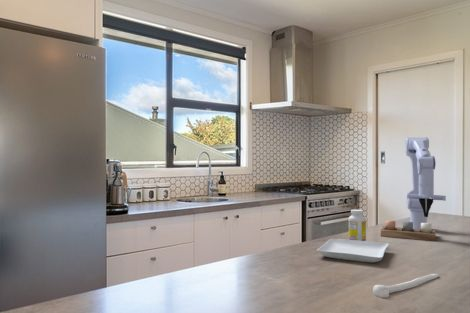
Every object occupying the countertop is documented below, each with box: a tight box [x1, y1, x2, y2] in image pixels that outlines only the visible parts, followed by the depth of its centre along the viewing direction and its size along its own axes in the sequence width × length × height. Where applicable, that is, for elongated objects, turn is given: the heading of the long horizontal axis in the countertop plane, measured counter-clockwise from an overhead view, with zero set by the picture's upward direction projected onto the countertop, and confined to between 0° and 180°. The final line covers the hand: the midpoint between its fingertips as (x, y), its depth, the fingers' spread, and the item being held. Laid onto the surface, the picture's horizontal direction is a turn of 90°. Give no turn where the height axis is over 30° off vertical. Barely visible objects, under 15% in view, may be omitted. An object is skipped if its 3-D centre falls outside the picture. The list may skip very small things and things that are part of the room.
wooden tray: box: [380, 225, 437, 242], centre depth 164 cm, size 11×21×2 cm, turn 64°
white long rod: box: [372, 273, 439, 298], centre depth 102 cm, size 28×4×3 cm, turn 125°
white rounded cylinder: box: [421, 222, 432, 233], centre depth 161 cm, size 4×4×4 cm
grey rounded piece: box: [402, 220, 413, 231], centre depth 164 cm, size 4×4×4 cm
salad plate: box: [316, 238, 390, 264], centre depth 133 cm, size 21×21×3 cm
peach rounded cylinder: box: [385, 219, 396, 230], centre depth 167 cm, size 4×4×4 cm
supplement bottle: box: [348, 209, 367, 241], centre depth 152 cm, size 7×7×13 cm
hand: (426, 216), depth 161 cm, fingers closed
